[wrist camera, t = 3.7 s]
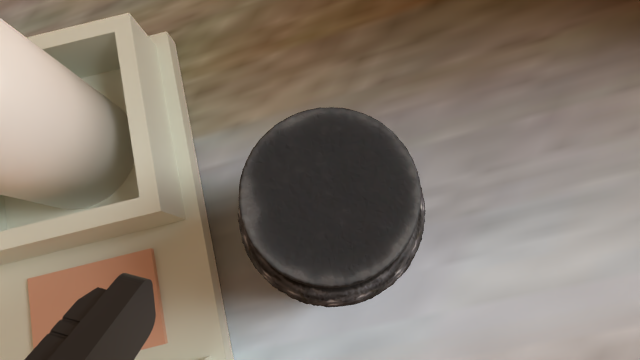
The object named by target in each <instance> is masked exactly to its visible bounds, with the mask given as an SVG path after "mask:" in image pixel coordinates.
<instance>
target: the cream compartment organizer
mask: <svg viewBox="0 0 640 360" xmlns="http://www.w3.org/2000/svg"><path fill="white" fill-rule="evenodd" d="M122 273H128V274H132V275H135V276H139V277H143V278H146V279H150V280H151V281H152V284H153V292H154V302H155V311H156V318H155V323H154V326H153V329H152V331H151V334H150V335H149V337H148V339H147V340H146V342H145V344H144V345H143V347H142V348H141V350H140V351H139V353H138V354H137V356H136V357H135V359H134V360H234V358H233V353H232V347H231V342H230V337H229V331H228V326H227V320H226V315H225V310H224V304H223V299H222V293H221V288H220V282H219V277H218V272H217V266H216V261H215V255H214V250H213V245H212V239H211V234H210V228H209V223H208V218H207V212H206V207H205V201H204V196H203V191H202V185H201V180H200V174H199V169H198V164H197V158H196V153H195V147H194V142H193V136H192V131H191V126H190V120H189V115H188V109H187V104H186V99H185V93H184V88H183V82H182V77H181V72H180V66H179V61H178V55H177V50H176V45H175V42H174V41H173V39H172V38H171V37H170V35H169V34H168V32H167V31H166V32H162V33H158V34H154V35H150V36H148V35H147V34H146V33H145V32H144V30H143V29H142V28H141V27H140V25H139V24H138V23H137V22H136V20H135V19H134V18H133V17H132V16H131V14H130V13H125V14H121V15H117V16H113V17H109V18H105V19H101V20H97V21H92V22H88V23H84V24H80V25H76V26H72V27H68V28H64V29H60V30H56V31H51V32H47V33H43V34H39V35H35V36H31V37H27V38H26V37H25V36H23V35H22V34H21V33H19V32H18V31H17V30H15V29H14V28H13V27H11V26H10V25H9V24H7V23H6V22H5V21H3V20H2V19H1V18H0V360H24V359H25V358H26V357H27V356H28V355H29V354H30V353H31V352H32V350H33V349H34V348H35V347H36V346H37V345H38V344H39V343H40V341H41V340H42V339H43V338H44V337H45V336H46V335H47V334H49V333H50V330H51V329H52V328H53V327H54V326H55V325H56V323H57V322H58V321H59V320H62V318H63V316H64V314H65V313H66V312H67V311H68V310H69V309H70V308H71V307H72V305H73V304H74V303H75V302H76V301H77V300H78V299H80V298H81V297H83V296H84V295H86V294H88V293H89V292H91V291H92V290H94V289H95V288H97V287H99V288H103V289H106V290H107V289H108V288H109V286H110V285H111V284H112V283H113V282H114V280H115V279H116V278H117V277H118V276H119V275H120V274H122Z"/></svg>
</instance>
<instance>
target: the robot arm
mask: <svg viewBox="0 0 640 360" xmlns="http://www.w3.org/2000/svg"><path fill="white" fill-rule="evenodd" d="M155 318H156V311H155V302H154V292H153V284H152V281H151V280H150V279H146V278H143V277H139V276H135V275H132V274H128V273H122V274H120V275H119V276H118V277H117V278H116V279H115V280H114V282H113V283H112V284H111V285H110V286H109V288H108V289H107V290H106V289H103V288H99V287H97V288H95V289H94V290H92V291H91V292H89V293H88V294H86V295H84V296H83V297H81V298H80V299H78V300H77V301H76V302H75V303H74V304H73V305H72V307H71V308H70V309H69V310H68V311H67V312H66V313H65V314H64V316H63V318H62V320H59V321H58V322H57V323H56V325H55V326H54V327H53V328H52V329H51V330H50V333H49V334H47V335H46V336H45V337H44V338H43V339H42V340H41V341H40V343H39V344H38V345H37V346H36V347H35V348H34V349H33V350H32V352H31V353H30V354H29V355H28V356H27V357H26V358H25V359H24V360H134V359H135V357H136V356H137V354H138V353H139V351H140V350H141V348H142V347H143V345H144V344H145V342H146V340H147V339H148V337H149V335H150V334H151V331H152V329H153V326H154V323H155Z"/></svg>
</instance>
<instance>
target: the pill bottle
mask: <svg viewBox="0 0 640 360" xmlns="http://www.w3.org/2000/svg"><path fill="white" fill-rule="evenodd" d="M424 216H425V203H424V198H423V194H422V188H421V186H420V180H419V176H418V172H417V169H416V166H415V164H414V162H413V159H412V157H411V156H410V154H409V152H408V150H407V148H406V147H405V146H404V144H403V143H402V142H401V141H400V140H399V139H398V137H397V136H396V135H395V134H394V133H393V132H392V131H391V130H390V129H388V128H387V127H386V126H385V125H383V124H382V123H381V122H379V121H378V120H376V119H374V118H372V117H370V116H368V115H366V114H363V113H360V112H357V111H353V110H349V109H344V108H332V107H330V108H316V109H311V110H306V111H303V112H300V113H297V114H295V115H292V116H290V117H288V118H286V119H285V120H283V121H281V122H279V123H278V124H276V125H275V126H274V127H273V128H272V129H270V130H269V131H268V132H267V133H266V134H265V135H264V136H263V137H262V138H261V139H260V140H259V141H258V143H257V144H256V146H255V147H254V148H253V149H252V151H251V153H250V155H249V157H248V159H247V161H246V163H245V166H244V168H243V171H242V175H241V179H240V184H239V214H238V217H239V224H240V232H241V235H242V243H243V244H244V246H245V250H246V252H247V255H248V256H249V258H250V260H251V261H252V263H253V265H254V266H255V268H256V269H257V270H258V271H259V272H260V273H261V274H262V275H263V277H264V278H265V279H266V280H268V281H269V283H270V284H271V285H272V286H273V287H275V288H277V289H278V290H279V291H281V292H283V293H285V294H286V295H288V296H289V297H291V298H293V299H296V300H298V301H299V302H303V303H306V304H312V305H317V306H325V307H338V306H347V305H354V304H357V303H360V302H363V301H366V300H368V299H371V298H373V297H374V296H376V295H378V294H380V293H381V292H382V291H384V290H386V289H387V288H388V287H390V286H391V285H393V284H394V283H395V281H396V280H397V279H398V278H399V277H400V276H402V274H403V273H405V271H406V270H407V269H408V267H409V266H410V264H411V261H412V260H413V258H414V256H415V253H416V252H417V250H418V247H419V244H420V242H421V240H422V234H423V230H424V222H425V219H424Z"/></svg>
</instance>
